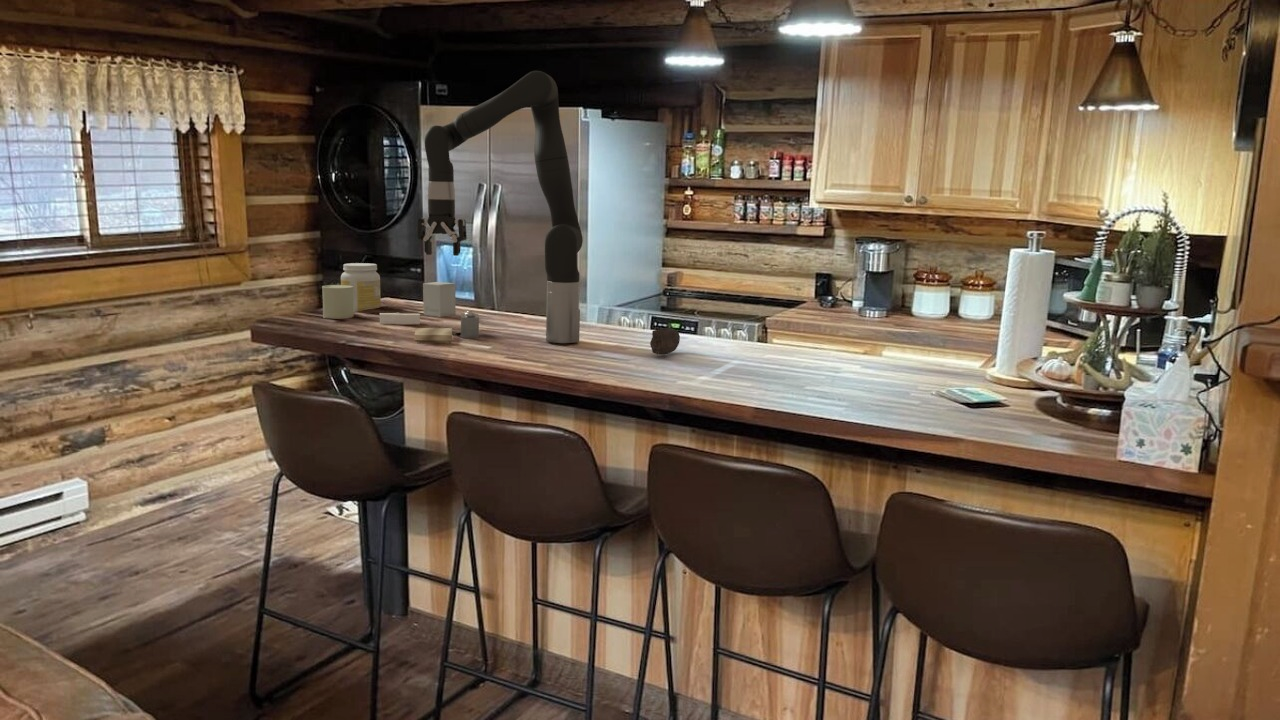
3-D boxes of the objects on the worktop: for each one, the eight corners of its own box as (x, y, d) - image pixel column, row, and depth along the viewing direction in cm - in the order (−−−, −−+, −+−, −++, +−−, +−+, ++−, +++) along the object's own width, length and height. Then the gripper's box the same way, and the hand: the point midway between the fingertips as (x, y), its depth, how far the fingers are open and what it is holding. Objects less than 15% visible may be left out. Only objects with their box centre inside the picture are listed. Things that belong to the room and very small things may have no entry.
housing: (478, 333, 281) (478, 310, 280) (478, 338, 273) (478, 314, 271) (460, 333, 280) (460, 310, 279) (461, 338, 272) (461, 314, 270)
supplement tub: (385, 314, 314) (384, 263, 312) (374, 319, 302) (373, 266, 300) (348, 313, 315) (347, 262, 312) (336, 318, 303) (335, 265, 300)
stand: (452, 336, 273) (452, 328, 273) (452, 344, 260) (452, 335, 260) (416, 336, 271) (416, 328, 271) (414, 344, 259) (414, 334, 258)
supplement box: (456, 323, 301) (456, 283, 299) (440, 325, 295) (439, 284, 293) (439, 320, 305) (439, 281, 303) (422, 323, 299) (422, 282, 296)
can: (322, 322, 293) (321, 283, 291) (354, 322, 296) (353, 283, 294) (322, 326, 285) (321, 286, 282) (354, 326, 287) (353, 286, 285)
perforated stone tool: (669, 348, 266) (670, 323, 265) (686, 350, 264) (687, 325, 263) (645, 355, 253) (645, 329, 252) (662, 357, 251) (663, 331, 249)
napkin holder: (431, 331, 285) (430, 312, 284) (407, 336, 275) (407, 316, 274) (390, 327, 291) (389, 308, 290) (365, 331, 281) (365, 312, 280)
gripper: (470, 198, 273) (470, 255, 276) (425, 197, 277) (426, 253, 280) (458, 198, 266) (459, 256, 269) (412, 197, 270) (413, 255, 272)
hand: (442, 255), depth 274 cm, fingers open, 8 cm apart
